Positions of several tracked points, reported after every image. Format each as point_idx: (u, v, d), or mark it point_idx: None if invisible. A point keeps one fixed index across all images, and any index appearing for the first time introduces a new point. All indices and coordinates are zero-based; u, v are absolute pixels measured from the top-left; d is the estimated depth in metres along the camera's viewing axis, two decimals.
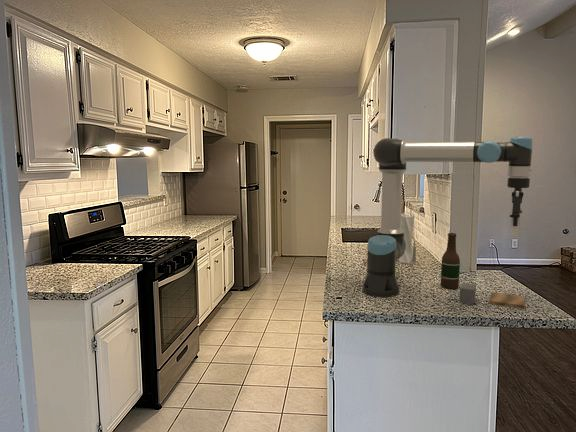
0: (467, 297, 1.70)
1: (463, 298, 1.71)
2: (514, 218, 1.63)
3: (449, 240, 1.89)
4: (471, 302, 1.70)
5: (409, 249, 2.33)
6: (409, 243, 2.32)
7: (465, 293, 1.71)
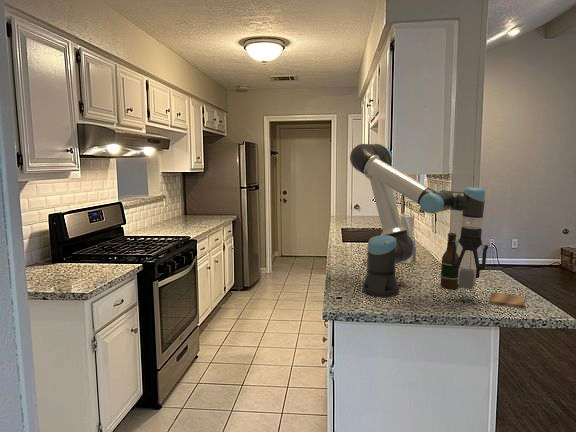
0: (466, 282, 1.70)
1: (462, 282, 1.71)
2: (456, 267, 1.75)
3: (449, 240, 1.89)
4: (470, 286, 1.69)
5: None
6: None
7: (465, 278, 1.70)
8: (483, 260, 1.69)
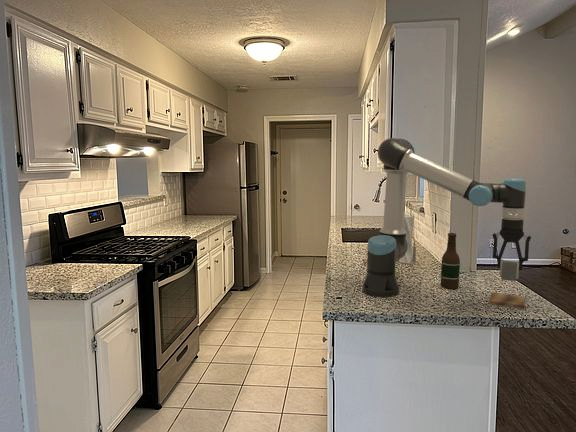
0: (510, 274, 1.68)
1: (506, 274, 1.68)
2: None
3: (449, 240, 1.89)
4: (514, 278, 1.67)
5: (409, 249, 2.33)
6: (409, 243, 2.32)
7: (508, 270, 1.68)
8: (526, 251, 1.67)
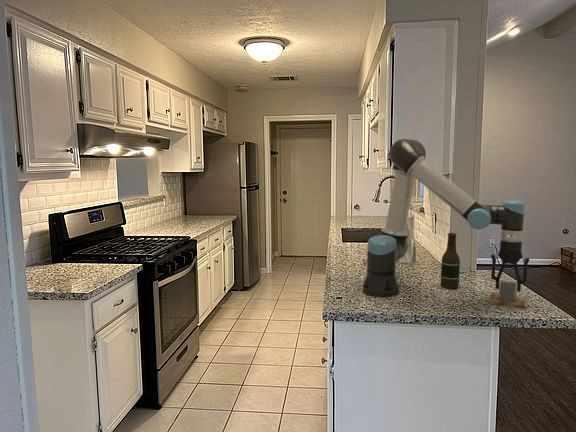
0: (508, 295, 1.69)
1: (504, 296, 1.69)
2: (496, 281, 1.74)
3: (449, 240, 1.89)
4: (512, 300, 1.68)
5: (409, 249, 2.33)
6: (409, 243, 2.32)
7: (506, 291, 1.69)
8: (524, 273, 1.68)
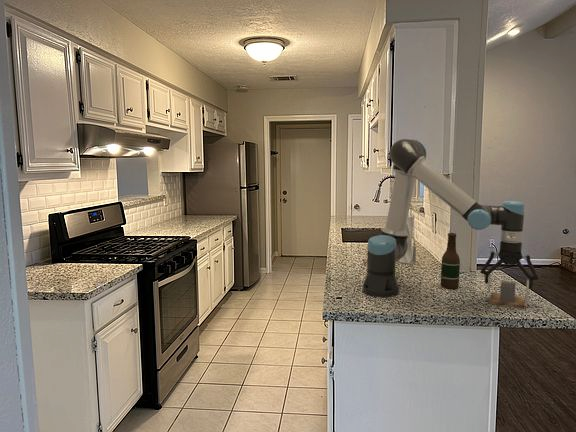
0: (508, 295, 1.69)
1: (504, 296, 1.69)
2: (485, 275, 1.76)
3: (449, 240, 1.89)
4: (512, 300, 1.68)
5: (409, 249, 2.33)
6: (409, 243, 2.32)
7: (506, 291, 1.69)
8: (532, 270, 1.66)
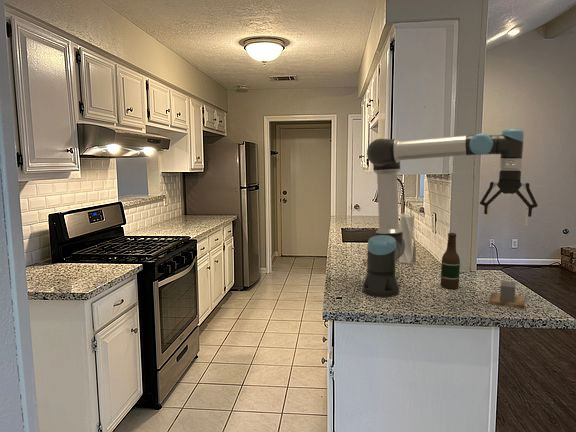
0: (508, 295, 1.69)
1: (504, 296, 1.69)
2: None
3: (449, 240, 1.89)
4: (512, 300, 1.68)
5: (409, 249, 2.33)
6: (409, 243, 2.32)
7: (506, 291, 1.69)
8: (531, 198, 1.66)
